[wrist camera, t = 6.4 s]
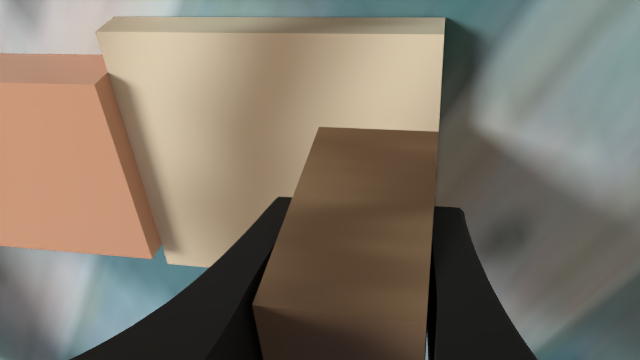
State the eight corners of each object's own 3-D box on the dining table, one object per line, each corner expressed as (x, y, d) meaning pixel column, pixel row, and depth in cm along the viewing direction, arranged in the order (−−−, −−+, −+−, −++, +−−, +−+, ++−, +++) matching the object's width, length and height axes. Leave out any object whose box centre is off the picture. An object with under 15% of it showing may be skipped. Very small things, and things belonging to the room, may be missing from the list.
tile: (176, 217, 20) (152, 258, 18) (20, 206, 21) (-16, 244, 19) (129, 51, 16) (94, 84, 15) (-56, 49, 17) (-107, 80, 16)
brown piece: (445, 17, 14) (432, 204, 8) (431, 264, 18) (417, 488, 13) (114, 17, 15) (-82, 171, 10) (179, 243, 20) (71, 433, 15)
